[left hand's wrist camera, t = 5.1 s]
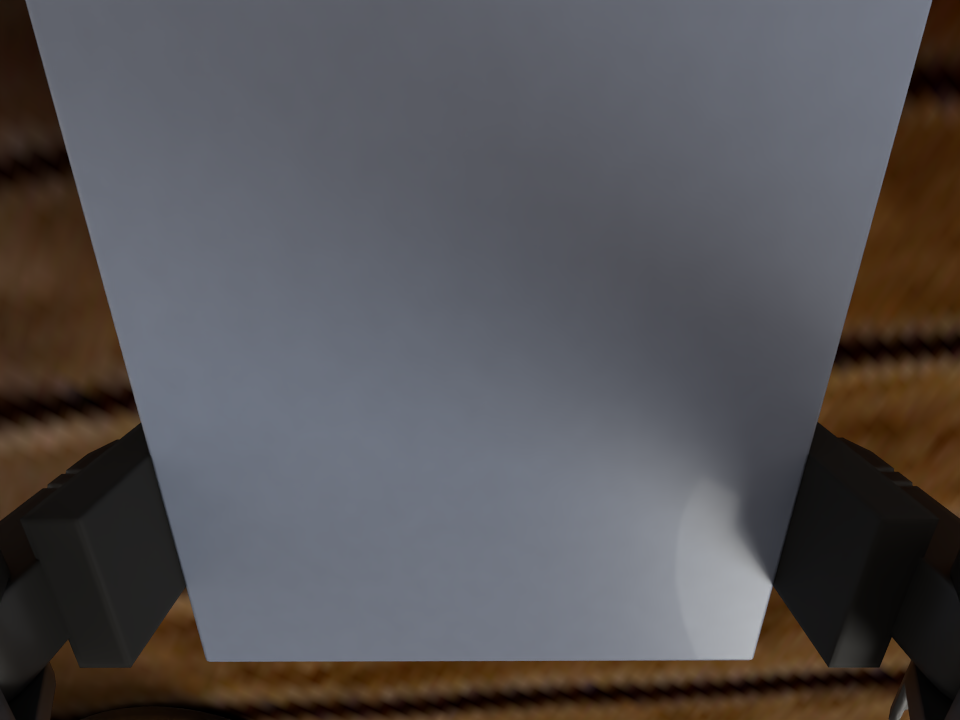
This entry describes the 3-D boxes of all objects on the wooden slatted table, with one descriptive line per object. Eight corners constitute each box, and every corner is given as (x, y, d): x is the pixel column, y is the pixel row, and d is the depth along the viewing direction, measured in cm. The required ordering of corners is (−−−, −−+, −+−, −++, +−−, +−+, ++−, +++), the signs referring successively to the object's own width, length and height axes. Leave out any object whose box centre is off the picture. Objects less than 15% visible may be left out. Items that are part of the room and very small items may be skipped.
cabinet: (262, -297, 12) (-498, -1882, 3) (694, -296, 12) (1446, -1867, 3) (341, 410, 19) (205, 663, 10) (616, 410, 19) (753, 661, 10)
